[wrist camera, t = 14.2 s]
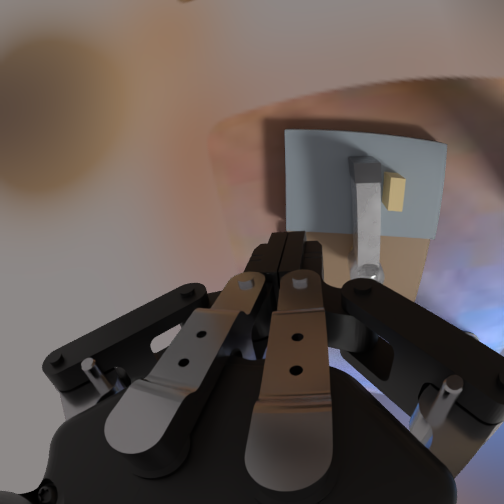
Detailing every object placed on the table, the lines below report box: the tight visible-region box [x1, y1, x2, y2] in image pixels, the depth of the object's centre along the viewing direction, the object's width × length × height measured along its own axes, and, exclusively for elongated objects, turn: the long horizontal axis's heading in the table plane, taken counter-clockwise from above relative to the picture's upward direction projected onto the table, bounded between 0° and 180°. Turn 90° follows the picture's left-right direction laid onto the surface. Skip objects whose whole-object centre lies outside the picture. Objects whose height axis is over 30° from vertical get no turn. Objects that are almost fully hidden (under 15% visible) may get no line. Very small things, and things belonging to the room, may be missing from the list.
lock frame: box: [285, 129, 447, 302], centre depth 28 cm, size 16×22×5 cm
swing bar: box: [347, 156, 385, 284], centre depth 24 cm, size 12×3×4 cm, turn 9°
